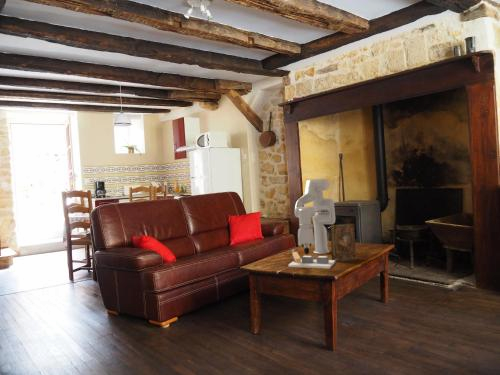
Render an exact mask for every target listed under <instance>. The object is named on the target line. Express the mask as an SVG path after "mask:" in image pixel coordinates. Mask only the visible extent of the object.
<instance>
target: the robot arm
mask: <svg viewBox="0 0 500 375" xmlns="http://www.w3.org/2000/svg"><path fill="white" fill-rule="evenodd" d="M330 184H331V183H330V180H329V179H328V178H311V179H308V180H306V182H305V188H304V192H303V195H302V196H301V197H300V198H298V199H297V201H296V202H295V205H294V211H293V212H294V213H293V214H294V217H296V218H298V222H299V224H298V225H299V228H297V229H298V230H297V245H298V247H299V246H300V247H302V248H303V252H304V253H303V254H305V255H309V253H310V247H311V246H314V250H313V254H317V255H325V254H329V253H330V251H331V250H329V249H328V234H327V232H328V230H327V228H326V226H325V225H335V223H336V211H335V202H334V200H333V199H332V198H326V197H324V192H323V191H328V190H329V189H330ZM311 202H312V206H310V205H309V206H304V205H306V204H309V203H311ZM311 218H312V219H311ZM311 220H312V223H313V224H312V223H311ZM312 227H313V228H312ZM313 231H314V232H313Z"/></svg>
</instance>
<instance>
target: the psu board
mask: <svg viewBox="0 0 500 375" xmlns="http://www.w3.org/2000/svg"><path fill="white" fill-rule="evenodd" d="M292 258H293V261H291V262H289V264H288V268H301V269H302V268H305V269H306V268H307V269H327V270H328V269H331V268H332V267H333V266H334V264H335V263H336V261H335V260H332V259H329V256H327V255H318V256H316V259H314V255H303V256H300V258H301V262H300V263H296V261H295V259H294V257H292Z"/></svg>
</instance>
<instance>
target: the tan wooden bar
mask: <svg viewBox="0 0 500 375" xmlns="http://www.w3.org/2000/svg"><path fill="white" fill-rule="evenodd" d="M291 257H292V258H293V257H294V259H295V261H296V263H300V262H301V259H302V258H301V256H300V255H299V252H298V249H297V248H296V249H295V248H293V249H291ZM294 259H293V260H294Z"/></svg>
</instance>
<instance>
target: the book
mask: <svg viewBox="0 0 500 375" xmlns="http://www.w3.org/2000/svg"><path fill="white" fill-rule="evenodd" d="M330 247H331V250H330V251H331V260H335V263H338V262H347V261H356V259H357V253H356V252H357V251H356V233H355V223H344V224H343V223H342V224H341V223H340V224H330Z"/></svg>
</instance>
